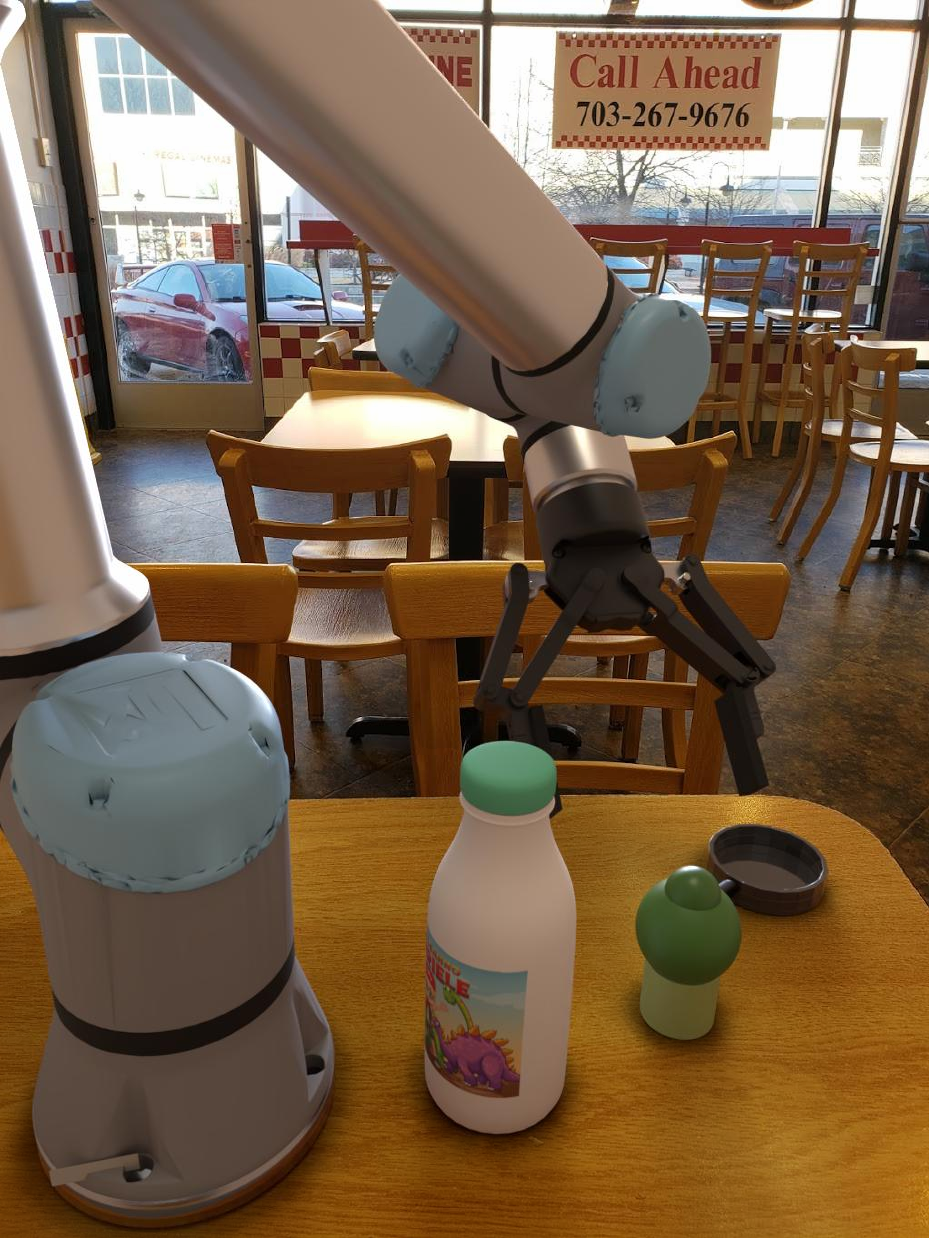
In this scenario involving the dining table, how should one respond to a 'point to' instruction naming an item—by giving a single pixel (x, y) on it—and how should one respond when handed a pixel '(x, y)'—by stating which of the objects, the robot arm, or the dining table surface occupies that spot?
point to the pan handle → (729, 887)
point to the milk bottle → (500, 948)
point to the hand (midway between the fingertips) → (655, 803)
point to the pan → (768, 868)
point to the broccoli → (685, 951)
